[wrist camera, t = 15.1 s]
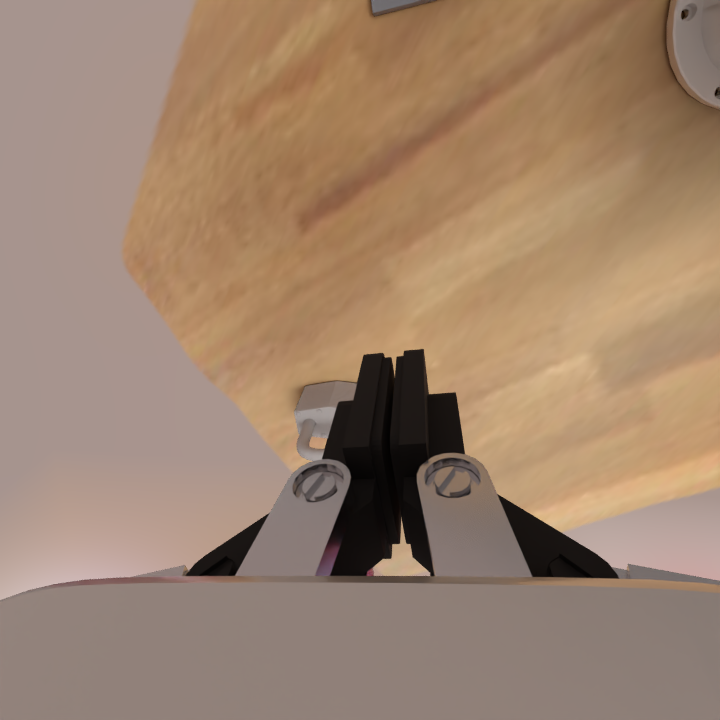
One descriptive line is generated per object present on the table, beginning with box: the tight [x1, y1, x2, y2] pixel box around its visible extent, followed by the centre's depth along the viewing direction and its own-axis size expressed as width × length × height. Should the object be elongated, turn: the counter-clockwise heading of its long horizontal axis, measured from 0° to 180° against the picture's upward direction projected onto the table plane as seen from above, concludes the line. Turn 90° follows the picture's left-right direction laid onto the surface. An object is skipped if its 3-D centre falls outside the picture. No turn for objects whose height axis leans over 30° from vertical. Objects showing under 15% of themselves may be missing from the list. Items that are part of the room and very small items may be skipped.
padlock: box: [294, 381, 357, 461], centre depth 41 cm, size 7×4×10 cm, turn 95°
